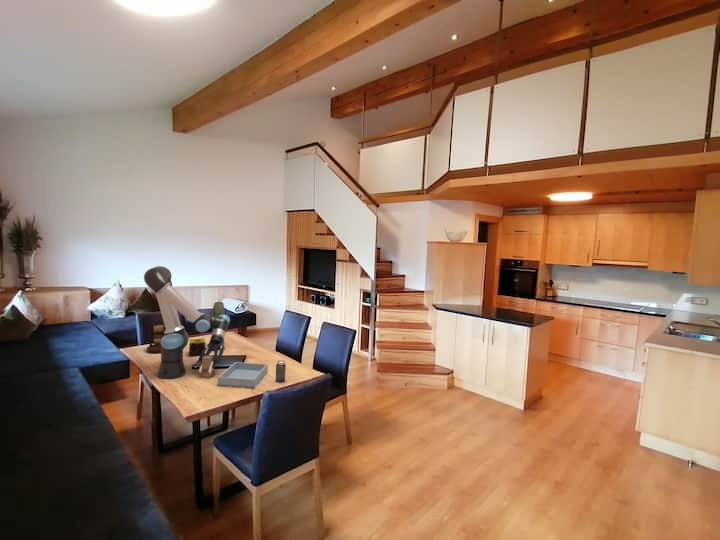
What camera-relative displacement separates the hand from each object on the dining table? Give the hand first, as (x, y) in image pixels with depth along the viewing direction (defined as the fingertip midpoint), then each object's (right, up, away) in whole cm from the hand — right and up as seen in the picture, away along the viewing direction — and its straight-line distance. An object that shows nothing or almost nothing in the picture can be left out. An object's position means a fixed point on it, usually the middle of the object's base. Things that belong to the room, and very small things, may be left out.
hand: (205, 372), depth 216 cm
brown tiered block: (-52, +2, +45) cm, 69 cm away
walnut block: (0, -4, +4) cm, 5 cm away
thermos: (-15, +1, +57) cm, 59 cm away
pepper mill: (+44, -6, +3) cm, 44 cm away
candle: (-24, +1, +42) cm, 48 cm away
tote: (+22, -5, +3) cm, 23 cm away
